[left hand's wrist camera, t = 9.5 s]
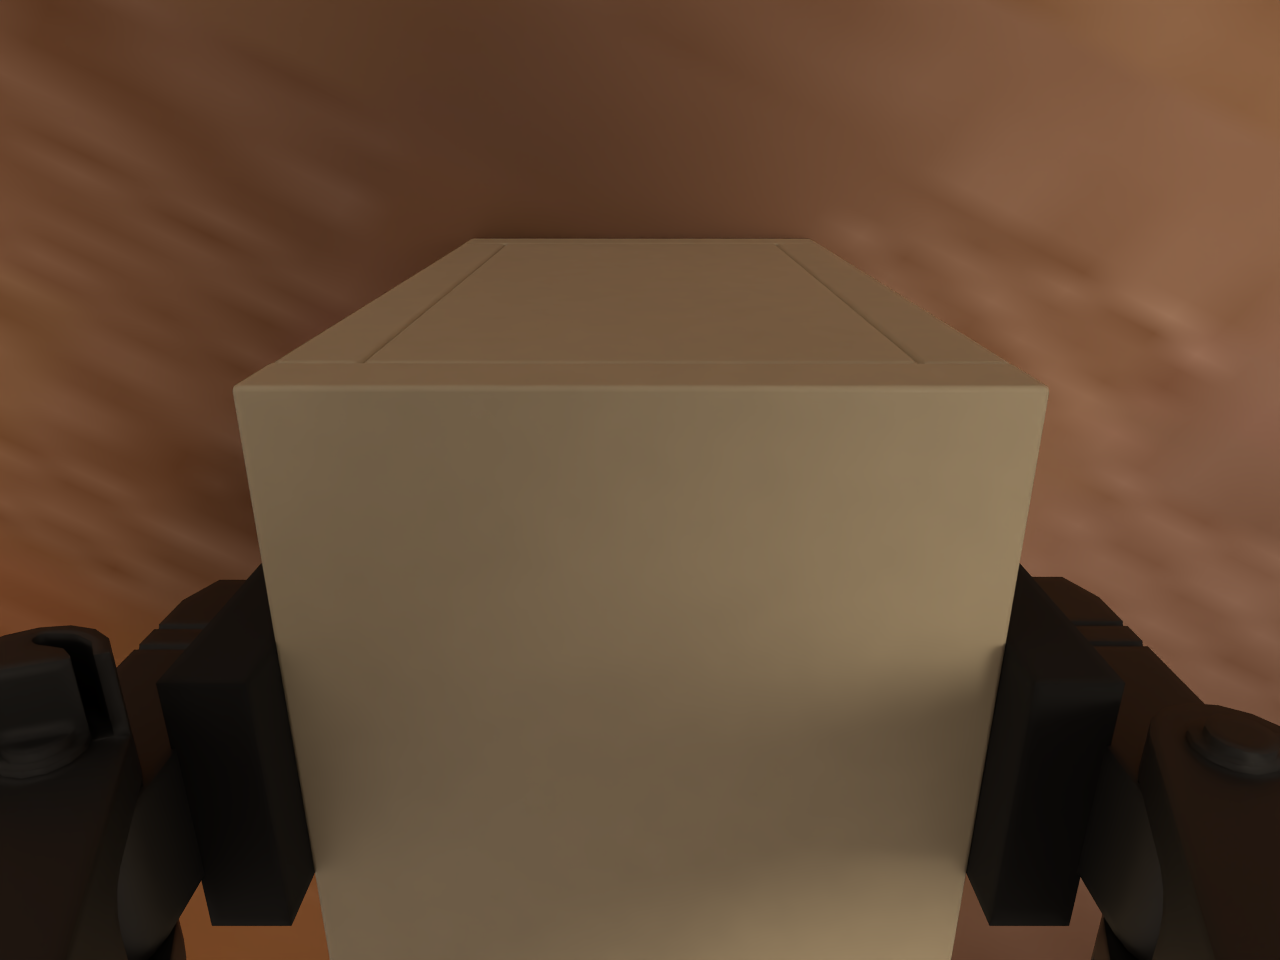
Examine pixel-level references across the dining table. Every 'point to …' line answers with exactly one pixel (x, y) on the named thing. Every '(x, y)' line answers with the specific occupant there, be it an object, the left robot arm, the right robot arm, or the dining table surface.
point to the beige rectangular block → (640, 602)
